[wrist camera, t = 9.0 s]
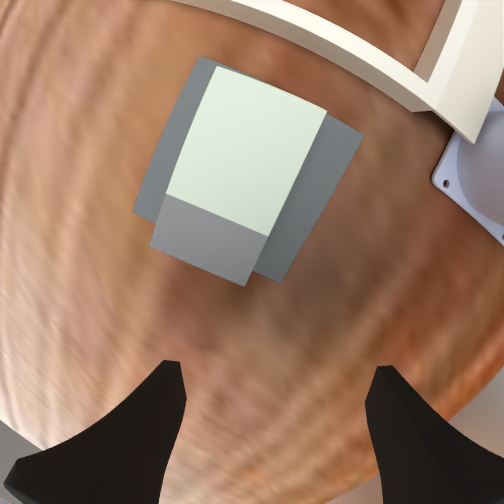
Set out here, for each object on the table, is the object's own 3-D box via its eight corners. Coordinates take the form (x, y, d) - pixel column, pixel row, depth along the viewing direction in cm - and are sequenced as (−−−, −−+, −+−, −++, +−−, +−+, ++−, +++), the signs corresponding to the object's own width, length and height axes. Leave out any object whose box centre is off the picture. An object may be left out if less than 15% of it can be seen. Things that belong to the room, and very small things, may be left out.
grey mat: (361, 135, 16) (364, 135, 15) (279, 279, 19) (279, 283, 19) (201, 57, 15) (199, 55, 14) (135, 209, 18) (132, 211, 18)
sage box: (311, 117, 15) (327, 110, 10) (252, 245, 18) (244, 286, 13) (233, 85, 15) (216, 66, 10) (180, 215, 18) (149, 246, 13)
